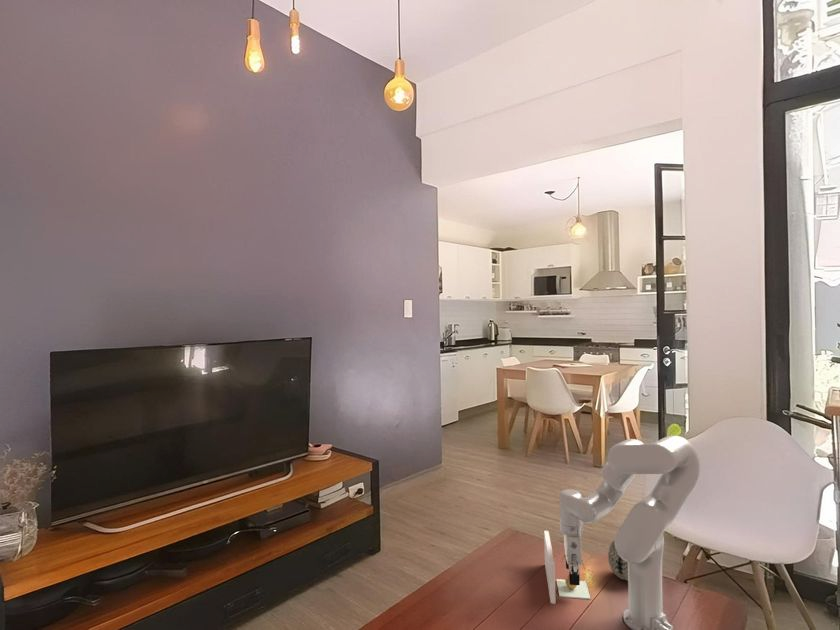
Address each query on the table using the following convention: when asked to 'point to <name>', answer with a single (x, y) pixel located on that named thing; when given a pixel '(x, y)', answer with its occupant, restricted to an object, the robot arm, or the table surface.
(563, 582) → the mat
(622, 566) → the decorative egg
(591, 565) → the table surface
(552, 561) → the screen
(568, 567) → the figurine
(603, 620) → the table surface
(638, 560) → the robot arm
